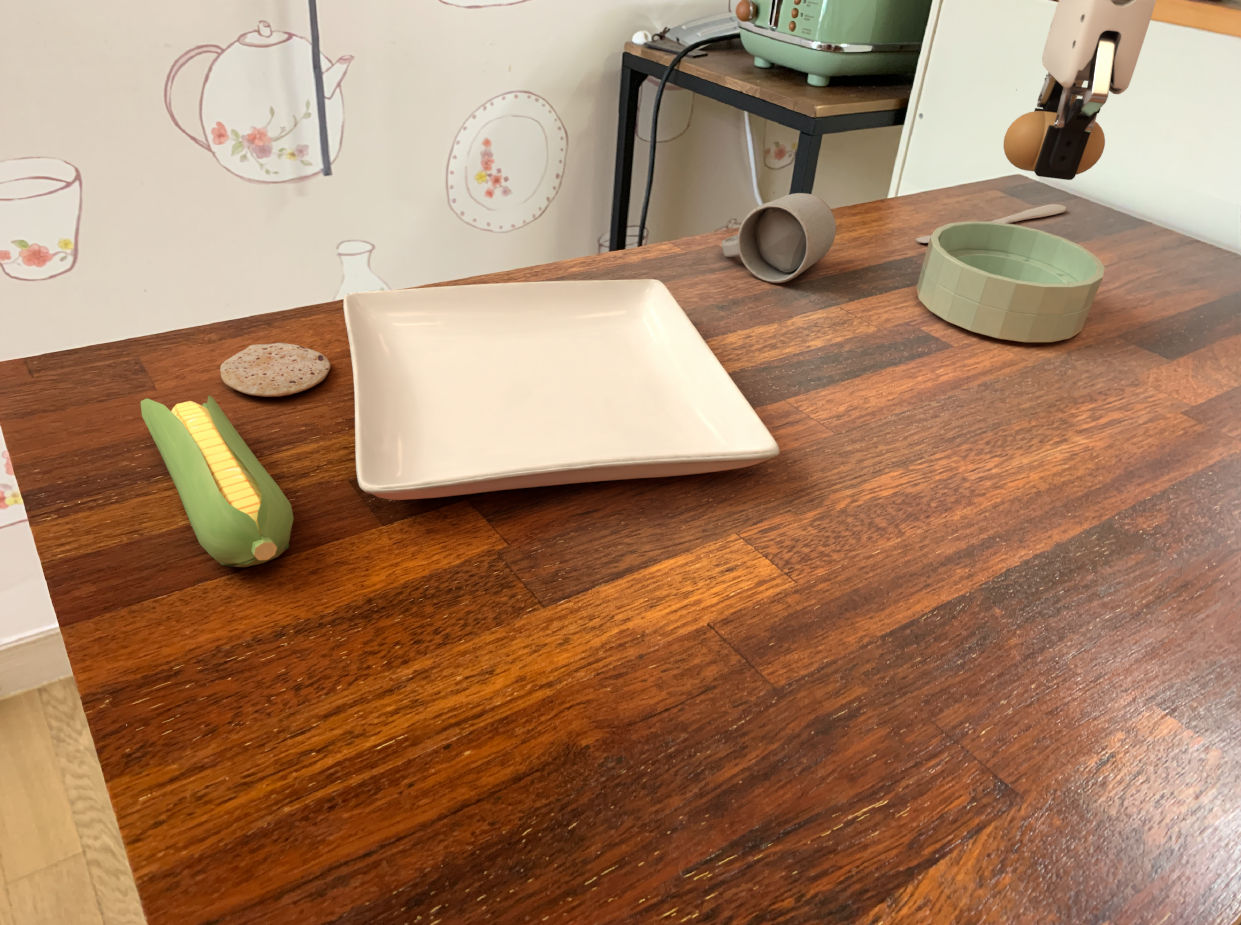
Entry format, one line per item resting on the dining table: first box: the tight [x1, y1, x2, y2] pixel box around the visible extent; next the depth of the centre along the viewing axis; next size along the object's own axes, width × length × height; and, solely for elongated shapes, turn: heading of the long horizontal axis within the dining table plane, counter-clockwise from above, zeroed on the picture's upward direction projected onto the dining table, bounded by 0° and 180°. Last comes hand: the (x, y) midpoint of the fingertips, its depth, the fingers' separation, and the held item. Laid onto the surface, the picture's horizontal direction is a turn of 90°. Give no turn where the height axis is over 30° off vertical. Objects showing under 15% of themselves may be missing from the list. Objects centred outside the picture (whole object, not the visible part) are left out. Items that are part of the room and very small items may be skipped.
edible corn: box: [140, 395, 294, 568], centre depth 57 cm, size 5×20×5 cm, turn 35°
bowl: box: [915, 220, 1106, 343], centre depth 88 cm, size 15×15×6 cm
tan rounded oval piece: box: [1003, 111, 1106, 176], centre depth 79 cm, size 8×5×5 cm, turn 80°
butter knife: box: [914, 203, 1068, 244], centre depth 109 cm, size 1×27×3 cm
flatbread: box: [219, 342, 332, 398], centre depth 70 cm, size 8×8×1 cm
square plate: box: [342, 278, 781, 501], centre depth 69 cm, size 27×27×4 cm
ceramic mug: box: [721, 192, 837, 284], centre depth 92 cm, size 11×8×8 cm
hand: (1046, 164), depth 80 cm, fingers closed on tan rounded oval piece, 4 cm apart
